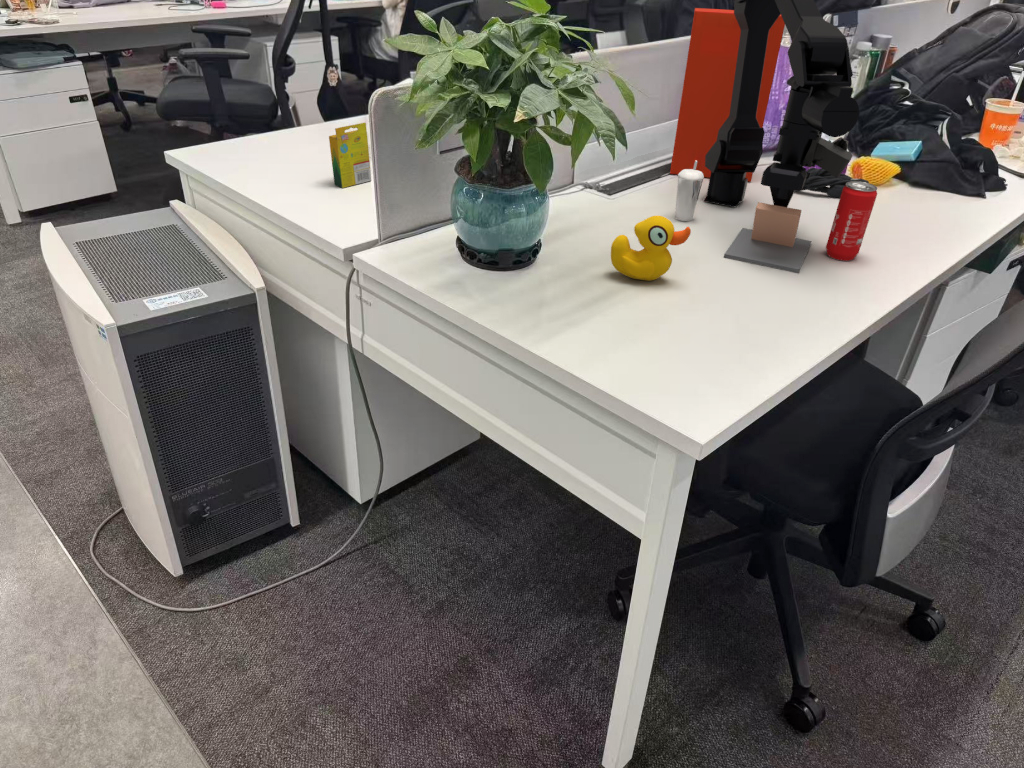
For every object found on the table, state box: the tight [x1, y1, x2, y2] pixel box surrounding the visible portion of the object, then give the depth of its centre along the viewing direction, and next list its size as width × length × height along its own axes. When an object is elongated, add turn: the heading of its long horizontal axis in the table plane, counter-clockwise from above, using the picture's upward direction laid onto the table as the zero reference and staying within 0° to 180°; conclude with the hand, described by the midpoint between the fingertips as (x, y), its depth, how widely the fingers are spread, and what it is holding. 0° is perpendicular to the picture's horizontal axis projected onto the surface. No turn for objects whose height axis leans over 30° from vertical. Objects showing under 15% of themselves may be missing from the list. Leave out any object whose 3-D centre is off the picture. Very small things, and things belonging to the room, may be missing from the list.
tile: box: [751, 202, 802, 247], centre depth 121 cm, size 7×2×7 cm, turn 63°
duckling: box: [610, 215, 692, 282], centre depth 109 cm, size 11×5×10 cm, turn 78°
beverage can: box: [825, 181, 878, 262], centre depth 118 cm, size 5×5×12 cm
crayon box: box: [328, 122, 372, 189], centre depth 142 cm, size 7×3×12 cm, turn 136°
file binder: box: [669, 7, 786, 183], centre depth 150 cm, size 8×17×32 cm, turn 77°
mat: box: [723, 227, 812, 274], centre depth 122 cm, size 12×14×1 cm
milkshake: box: [674, 161, 705, 222], centre depth 132 cm, size 4×5×10 cm
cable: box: [802, 167, 870, 199], centre depth 152 cm, size 17×14×4 cm
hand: (779, 216), depth 122 cm, fingers closed
